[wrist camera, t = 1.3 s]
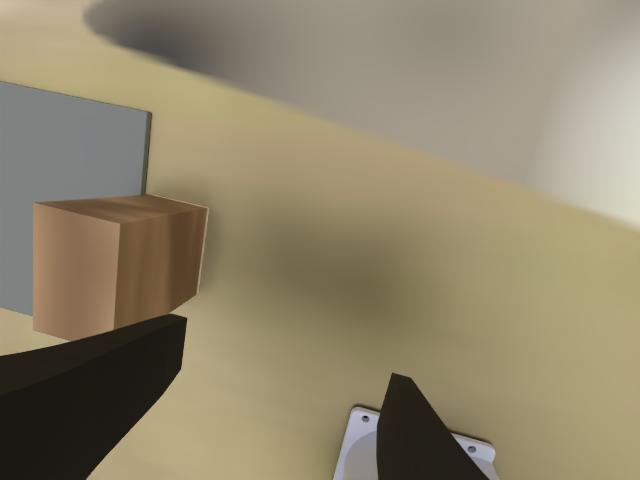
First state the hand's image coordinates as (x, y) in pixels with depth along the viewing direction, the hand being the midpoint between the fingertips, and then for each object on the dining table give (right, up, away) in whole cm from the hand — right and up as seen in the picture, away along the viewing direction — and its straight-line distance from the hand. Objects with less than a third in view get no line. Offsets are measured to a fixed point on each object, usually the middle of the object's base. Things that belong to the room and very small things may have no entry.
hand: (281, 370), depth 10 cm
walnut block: (-8, +4, +10) cm, 14 cm away
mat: (-18, +6, +11) cm, 22 cm away
